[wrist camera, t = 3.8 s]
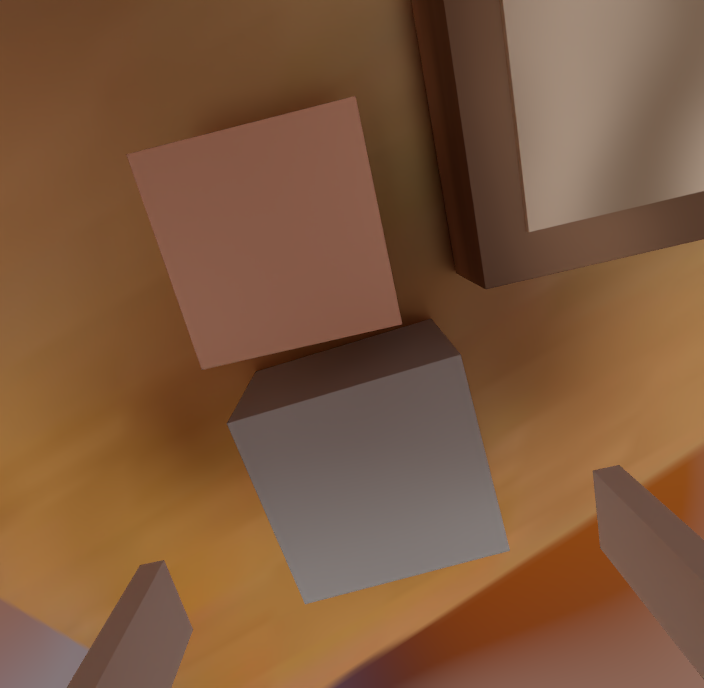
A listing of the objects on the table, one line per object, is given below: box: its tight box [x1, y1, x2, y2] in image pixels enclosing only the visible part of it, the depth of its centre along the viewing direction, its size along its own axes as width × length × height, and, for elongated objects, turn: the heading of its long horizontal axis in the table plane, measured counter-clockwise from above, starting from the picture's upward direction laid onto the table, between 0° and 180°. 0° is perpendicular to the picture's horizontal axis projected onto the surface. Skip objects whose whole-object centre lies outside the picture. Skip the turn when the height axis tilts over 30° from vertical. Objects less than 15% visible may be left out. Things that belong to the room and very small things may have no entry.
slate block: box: [227, 319, 510, 604], centre depth 18 cm, size 8×8×5 cm
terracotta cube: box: [126, 96, 402, 370], centre depth 15 cm, size 6×6×6 cm
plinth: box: [411, 0, 704, 289], centre depth 14 cm, size 12×10×4 cm
